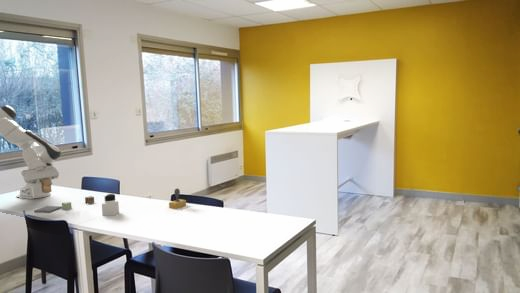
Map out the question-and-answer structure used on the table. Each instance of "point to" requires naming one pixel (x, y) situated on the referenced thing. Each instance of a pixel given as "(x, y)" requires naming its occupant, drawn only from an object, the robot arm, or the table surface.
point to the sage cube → (66, 205)
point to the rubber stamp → (177, 201)
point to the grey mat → (48, 209)
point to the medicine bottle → (110, 205)
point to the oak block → (46, 185)
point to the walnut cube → (89, 199)
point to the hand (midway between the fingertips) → (46, 185)
